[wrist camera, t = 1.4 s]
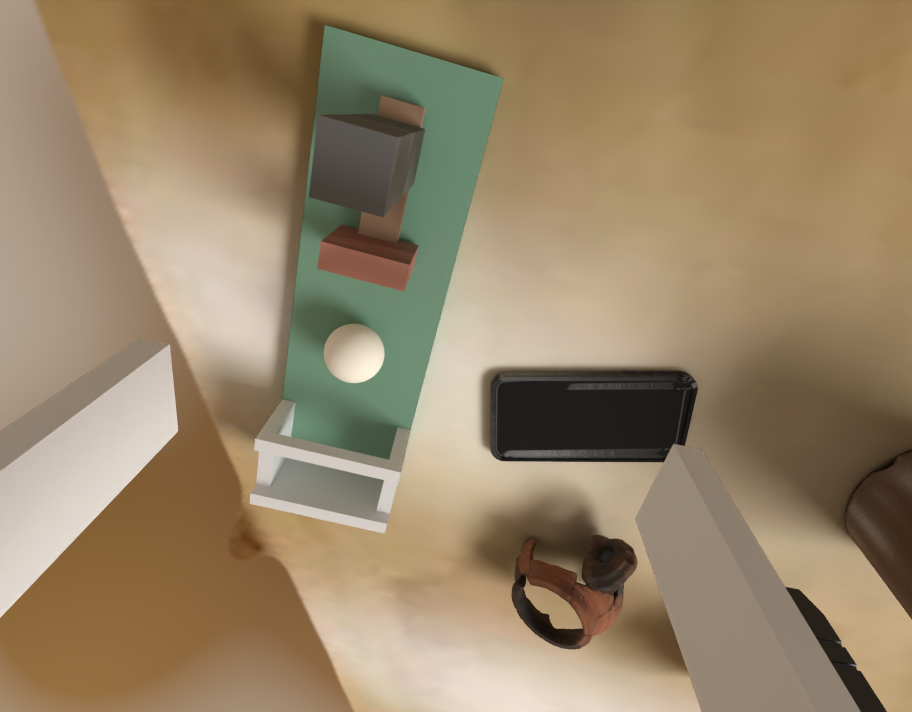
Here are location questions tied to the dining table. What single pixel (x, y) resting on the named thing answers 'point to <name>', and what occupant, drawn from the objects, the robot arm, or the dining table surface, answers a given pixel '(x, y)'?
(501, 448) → the phone
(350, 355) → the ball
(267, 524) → the dining table surface
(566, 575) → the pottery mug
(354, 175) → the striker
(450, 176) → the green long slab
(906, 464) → the plant pot
